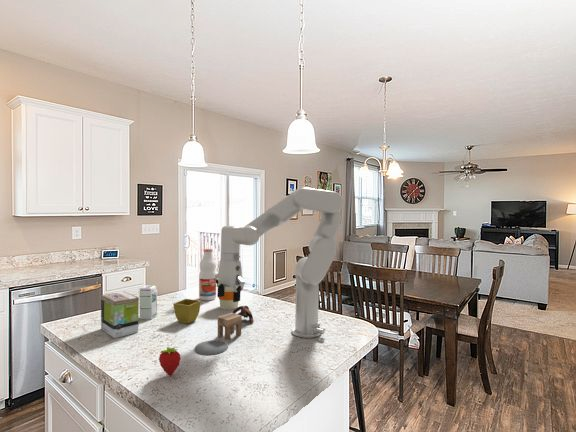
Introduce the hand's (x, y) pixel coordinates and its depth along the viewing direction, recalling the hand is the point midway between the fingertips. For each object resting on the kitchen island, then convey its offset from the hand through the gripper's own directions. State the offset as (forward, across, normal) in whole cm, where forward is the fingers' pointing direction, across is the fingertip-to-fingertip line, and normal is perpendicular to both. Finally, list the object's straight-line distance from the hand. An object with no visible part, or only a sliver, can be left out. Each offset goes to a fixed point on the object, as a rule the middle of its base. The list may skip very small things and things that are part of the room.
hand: (228, 298), depth 135 cm
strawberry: (+16, -12, +32) cm, 38 cm away
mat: (+15, -5, +11) cm, 20 cm away
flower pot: (+16, +26, +1) cm, 31 cm away
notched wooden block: (+15, -1, -1) cm, 15 cm away
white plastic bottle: (+16, +50, -28) cm, 60 cm away
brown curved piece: (+15, +8, -16) cm, 23 cm away
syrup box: (+16, +44, +10) cm, 48 cm away
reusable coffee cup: (+15, +29, -26) cm, 42 cm away
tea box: (+16, +37, +26) cm, 49 cm away
